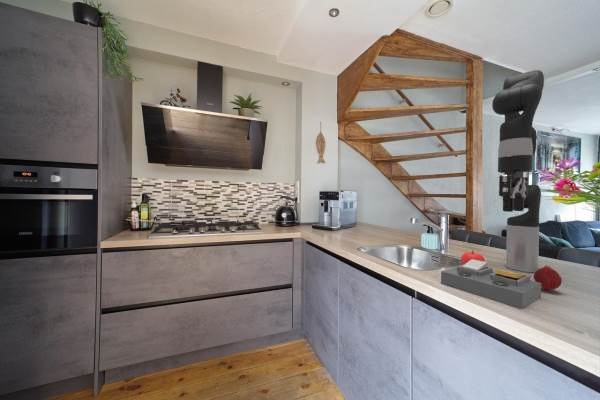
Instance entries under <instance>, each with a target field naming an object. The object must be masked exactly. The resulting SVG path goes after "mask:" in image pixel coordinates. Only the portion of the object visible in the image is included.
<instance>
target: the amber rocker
mask: <svg viewBox="0 0 600 400" xmlns="http://www.w3.org/2000/svg"><path fill="white" fill-rule="evenodd" d="M495 272H496V274H501V275H505V276H509V277H513V278H523V277H524V275H525V274H523V273H519V272H518V273H517V272H513V271H509V270H504V269H496V268H495Z"/></svg>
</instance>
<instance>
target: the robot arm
mask: <svg viewBox="0 0 600 400" xmlns="http://www.w3.org/2000/svg"><path fill="white" fill-rule="evenodd" d="M544 76H545V75H544V72H543V71H542V70H540V69H536V70H530V71H526V72H523V73H519V74H515V75H512V76H508V77H507V78H506V79H504V82H503V86H502V90H500V91H498V92H497V93H496V94H495V95H494V97H493V100H492V103H491V106H492V107H491V108H492V110H493V112H494V113H495V114H496V115H499V116H502V115H503V116H504V122H502V123H501V124H500V127H499V143H498V150H497V172H498V173H499V177H498V179H499V182H498V195H499V197H501V199H502V211H503V212H505V213H506V212H507V213H512V212H513V211H514V212H523V211H524V210H525V209H527V211H526V212H525V213H522V214H519V215H515V216H510V217H508V218H507V219H506V253H505V255H506V258H505V267H506V268H509V269H511V270H515V271H520V272H526V273H535V272H536V271H537V270H538V269H539V256H540V255H539V252H540V251H539V248H540V245H539V244H540V208H541V200H542V199H541V198H542V191H541V190H542V189H541V187H540V186H539V185H537V184H529V178H528V176H524V173H525V172H526V173H529V172H531V171H532V170H533V156H534V154H535V153H536V151H537V137H538V135H537V131H536V129H535V128H534V127H533V123H534V118H535V114H536V112H537V109H538V107H539V104H540V102H541V100H542V95H543V89H544V86H545V77H544ZM520 112H522V113H520ZM500 174H501V175H500Z"/></svg>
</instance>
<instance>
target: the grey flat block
mask: <svg viewBox="0 0 600 400" xmlns="http://www.w3.org/2000/svg"><path fill="white" fill-rule="evenodd" d="M462 266H463V265H458V266H455V267H452V268H451V267H450V268H447V269H444V270H440V271H441V272H440V284H441V285H445V286H447V287H448V286H449V287H451V288H454V289H458V290H461V291H464V292H467V293H470V294H473V295H477V296H479V297H484V298H486V299H489V300H492V301H496V302H499V303H502V304H505V305H508V306H511V307H515V308H518V309H521V310H524V309H525V308H527V307H528V306H530V305H531V304H532V303H534V302H535V301H537V300H539V299H540V298H541V297H542V287H541V283H540V282H536V281H535V280H531V275H527V274H523V275H524V277H523V278H513V277H509V276H505V275H501V274H496V271H494V270H493V269H494V267H491V266H487V267H486V268H484V269H483V270H481V271H474V270H470V269H466V268H462Z"/></svg>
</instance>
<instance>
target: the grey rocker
mask: <svg viewBox="0 0 600 400" xmlns="http://www.w3.org/2000/svg"><path fill="white" fill-rule="evenodd" d="M488 264H489V263H488V262H487V261H485V262H483V261H478V260H474V259H471V260H470V261H469V262H467V263H466V264H464V265H463V266H462V268H466V269H470V270H474V271H481V270H483V269H484V268H486V267H489V266H488Z"/></svg>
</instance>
